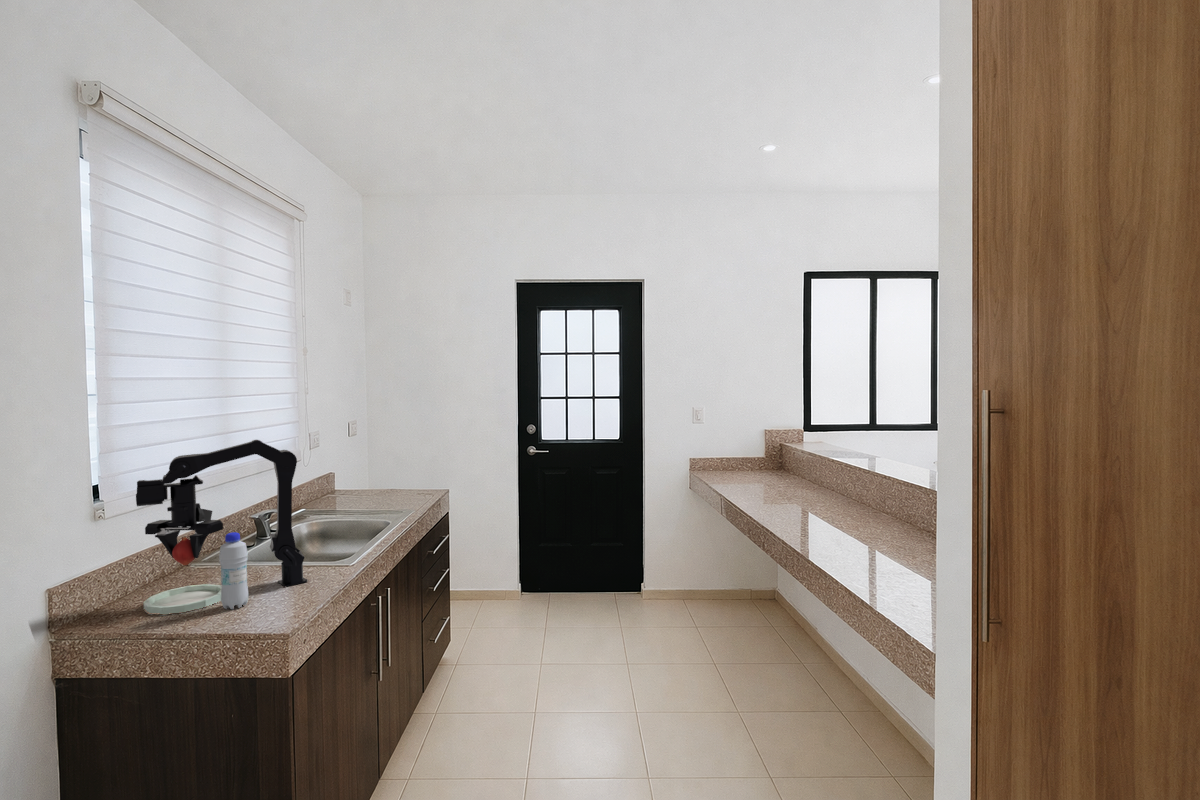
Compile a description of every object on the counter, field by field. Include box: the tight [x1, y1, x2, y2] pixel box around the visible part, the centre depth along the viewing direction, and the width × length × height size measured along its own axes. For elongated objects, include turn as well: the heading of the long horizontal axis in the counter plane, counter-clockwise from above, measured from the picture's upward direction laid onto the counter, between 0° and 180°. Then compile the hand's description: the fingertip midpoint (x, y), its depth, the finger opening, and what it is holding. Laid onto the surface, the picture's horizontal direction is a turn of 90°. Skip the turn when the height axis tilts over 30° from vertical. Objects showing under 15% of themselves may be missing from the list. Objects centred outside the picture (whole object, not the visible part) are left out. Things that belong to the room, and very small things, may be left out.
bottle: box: [218, 531, 249, 610], centre depth 163 cm, size 7×7×20 cm
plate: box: [143, 583, 222, 614], centre depth 167 cm, size 18×18×2 cm
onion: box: [172, 536, 196, 566], centre depth 168 cm, size 6×6×8 cm
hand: (185, 558), depth 168 cm, fingers closed on onion, 6 cm apart
